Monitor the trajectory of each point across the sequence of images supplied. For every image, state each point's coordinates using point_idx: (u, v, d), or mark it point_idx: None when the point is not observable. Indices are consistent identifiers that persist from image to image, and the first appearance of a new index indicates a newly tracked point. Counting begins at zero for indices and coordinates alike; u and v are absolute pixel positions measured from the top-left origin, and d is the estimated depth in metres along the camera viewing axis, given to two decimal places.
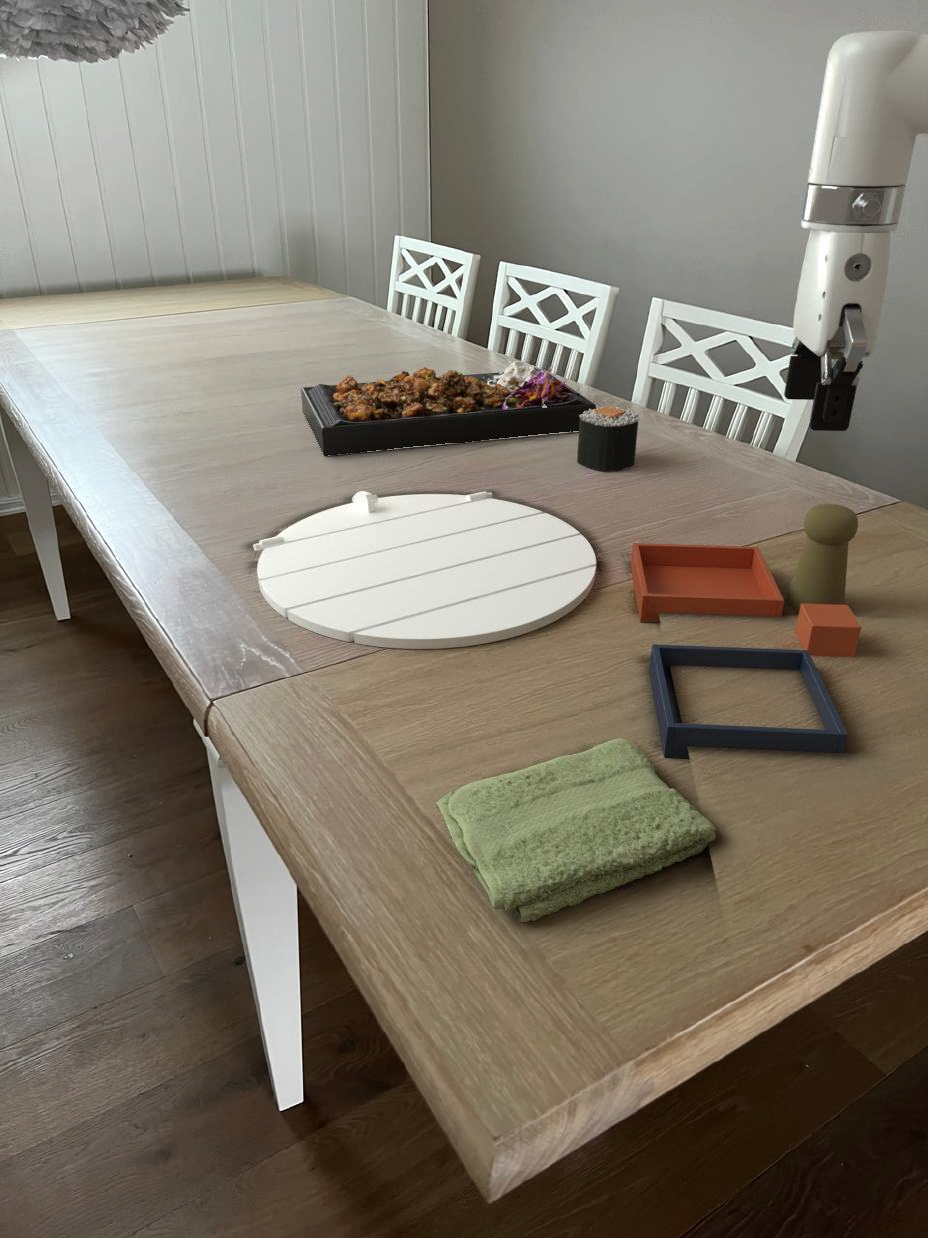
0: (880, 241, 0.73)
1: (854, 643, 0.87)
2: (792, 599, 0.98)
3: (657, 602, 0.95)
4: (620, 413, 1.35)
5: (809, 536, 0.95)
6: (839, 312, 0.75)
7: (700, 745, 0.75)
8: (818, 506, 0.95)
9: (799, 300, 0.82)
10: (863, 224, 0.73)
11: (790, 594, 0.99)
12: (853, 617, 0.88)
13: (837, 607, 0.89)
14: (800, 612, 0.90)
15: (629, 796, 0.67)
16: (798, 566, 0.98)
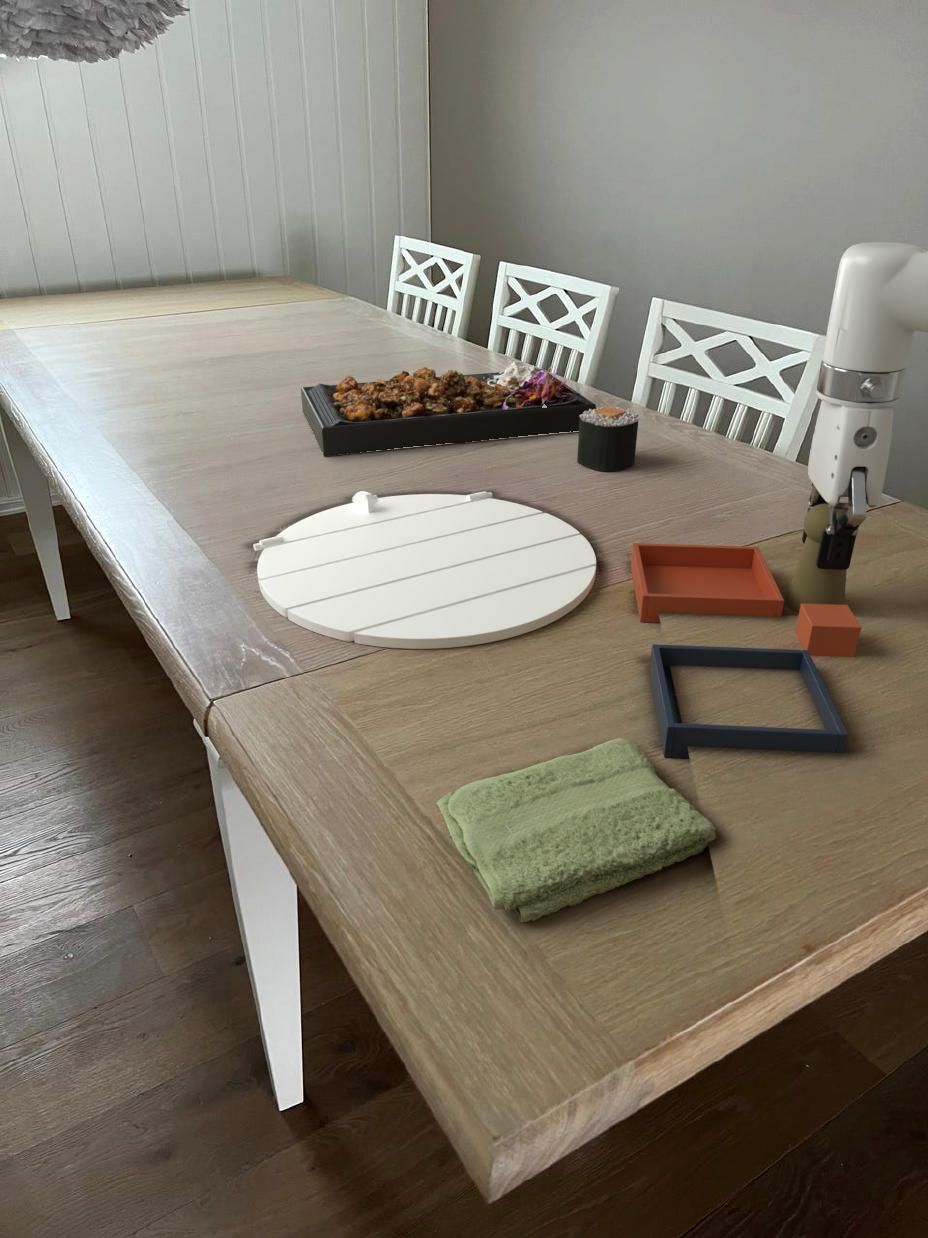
0: (884, 417, 0.85)
1: (854, 643, 0.87)
2: (792, 599, 0.98)
3: (657, 602, 0.95)
4: (620, 413, 1.35)
5: (809, 536, 0.95)
6: (849, 473, 0.87)
7: (700, 745, 0.75)
8: (818, 506, 0.95)
9: (813, 451, 0.94)
10: (870, 401, 0.85)
11: (790, 594, 0.99)
12: (853, 617, 0.88)
13: (837, 607, 0.89)
14: (800, 612, 0.90)
15: (629, 796, 0.67)
16: (798, 566, 0.98)
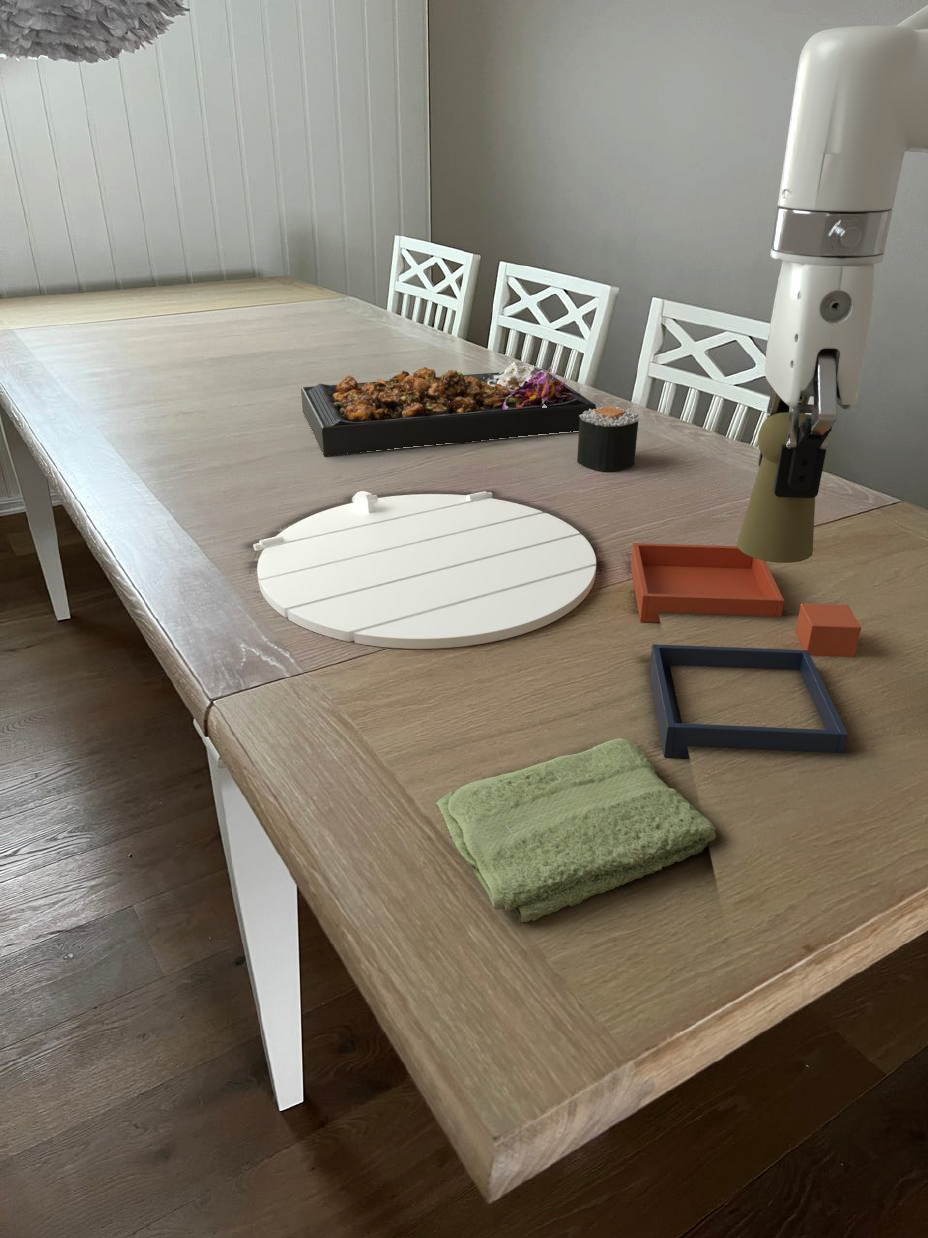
0: (862, 276, 0.61)
1: (854, 643, 0.87)
2: (744, 541, 0.75)
3: (657, 602, 0.95)
4: (620, 413, 1.35)
5: (764, 454, 0.72)
6: (814, 358, 0.64)
7: (700, 745, 0.75)
8: (776, 414, 0.72)
9: (770, 340, 0.71)
10: (842, 256, 0.62)
11: (742, 534, 0.75)
12: (853, 617, 0.88)
13: (837, 607, 0.89)
14: (800, 612, 0.90)
15: (629, 796, 0.67)
16: (751, 497, 0.74)
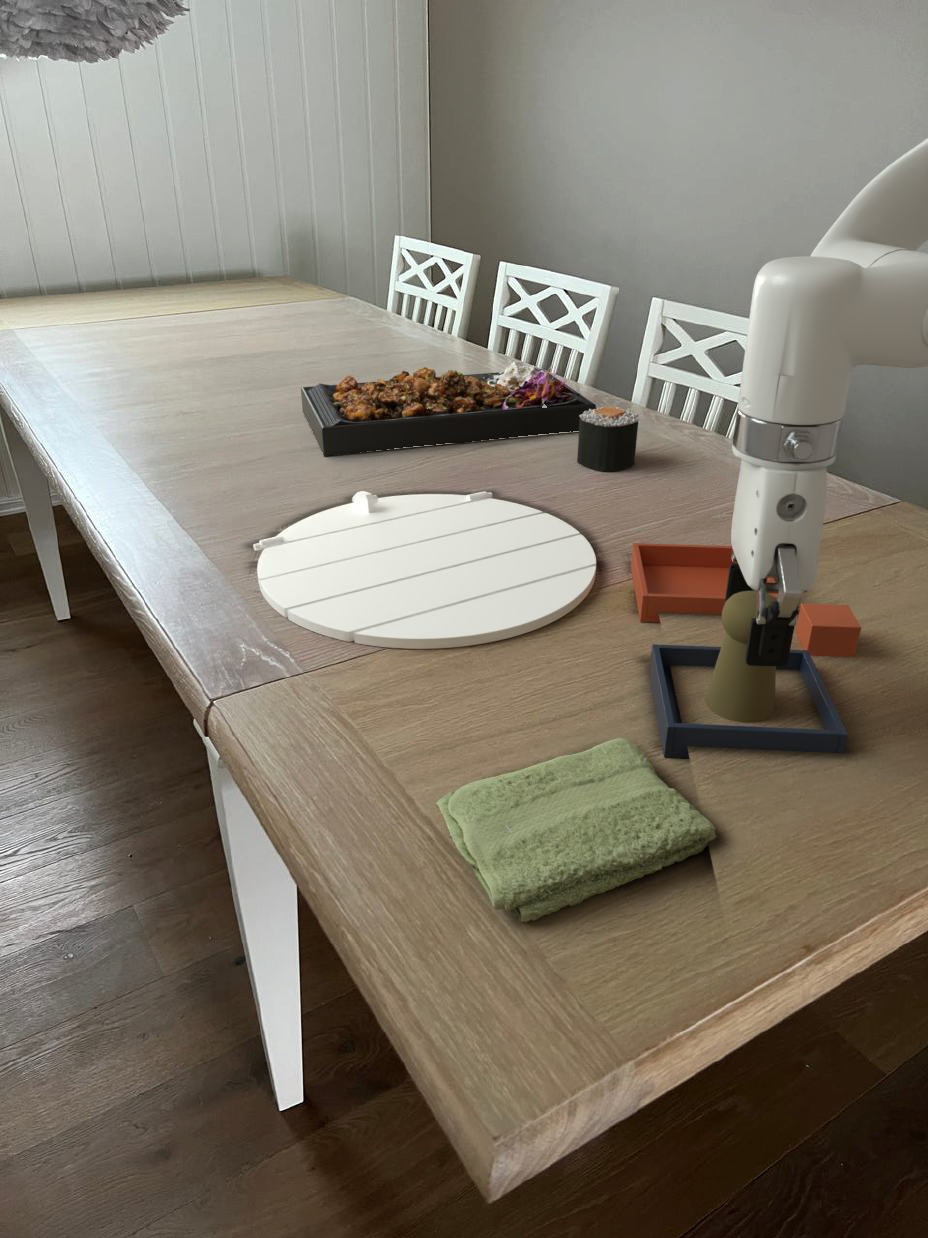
0: (815, 481, 0.66)
1: (854, 643, 0.87)
2: (710, 706, 0.80)
3: (657, 602, 0.95)
4: (620, 413, 1.35)
5: (727, 632, 0.77)
6: (772, 552, 0.68)
7: (700, 745, 0.75)
8: (738, 595, 0.77)
9: (735, 517, 0.75)
10: (796, 461, 0.66)
11: (708, 698, 0.80)
12: (853, 617, 0.88)
13: (837, 607, 0.89)
14: (800, 612, 0.90)
15: (629, 796, 0.67)
16: (716, 666, 0.79)
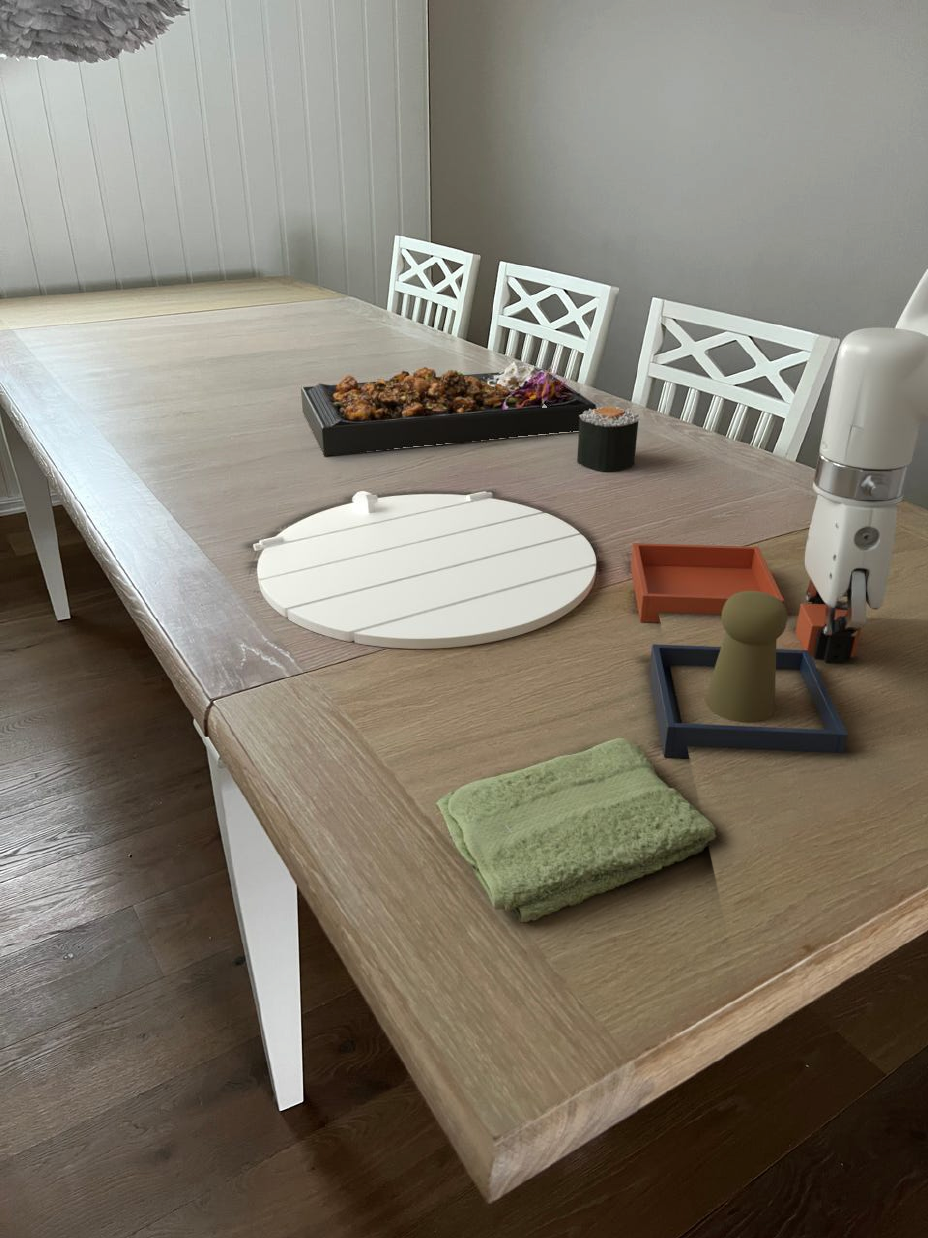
0: (887, 516, 0.78)
1: (854, 643, 0.87)
2: (710, 706, 0.80)
3: (657, 602, 0.95)
4: (620, 413, 1.35)
5: (727, 632, 0.77)
6: (849, 575, 0.80)
7: (700, 745, 0.75)
8: (738, 595, 0.77)
9: (810, 543, 0.87)
10: (871, 499, 0.79)
11: (708, 698, 0.80)
12: None
13: None
14: (800, 612, 0.90)
15: (629, 796, 0.67)
16: (716, 666, 0.79)
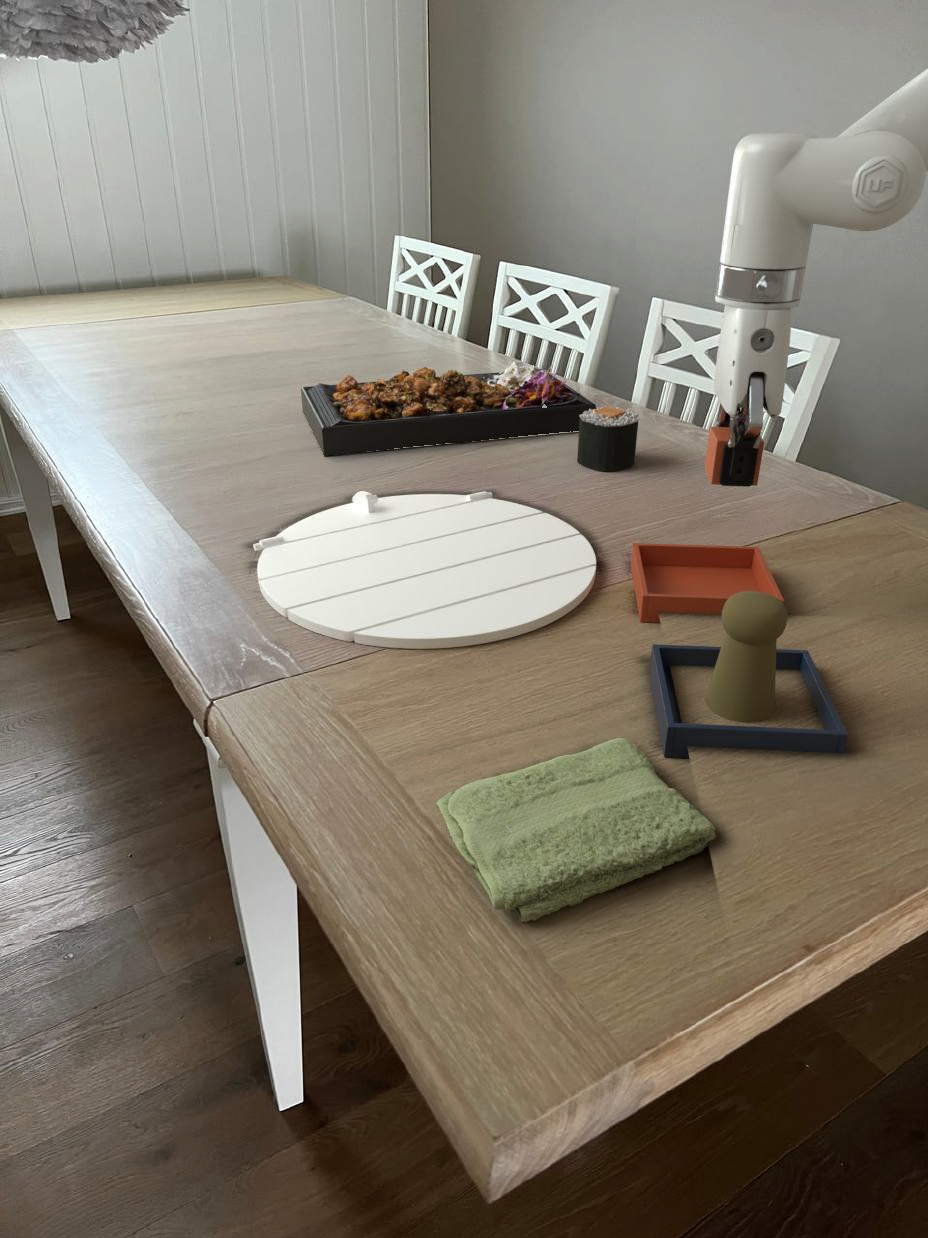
0: (781, 317, 0.81)
1: (758, 458, 0.90)
2: (710, 706, 0.80)
3: (657, 602, 0.95)
4: (620, 413, 1.35)
5: (727, 632, 0.77)
6: (747, 379, 0.83)
7: (700, 745, 0.75)
8: (738, 595, 0.77)
9: (717, 363, 0.90)
10: (767, 302, 0.82)
11: (708, 698, 0.80)
12: None
13: None
14: (709, 435, 0.93)
15: (629, 796, 0.67)
16: (716, 666, 0.79)
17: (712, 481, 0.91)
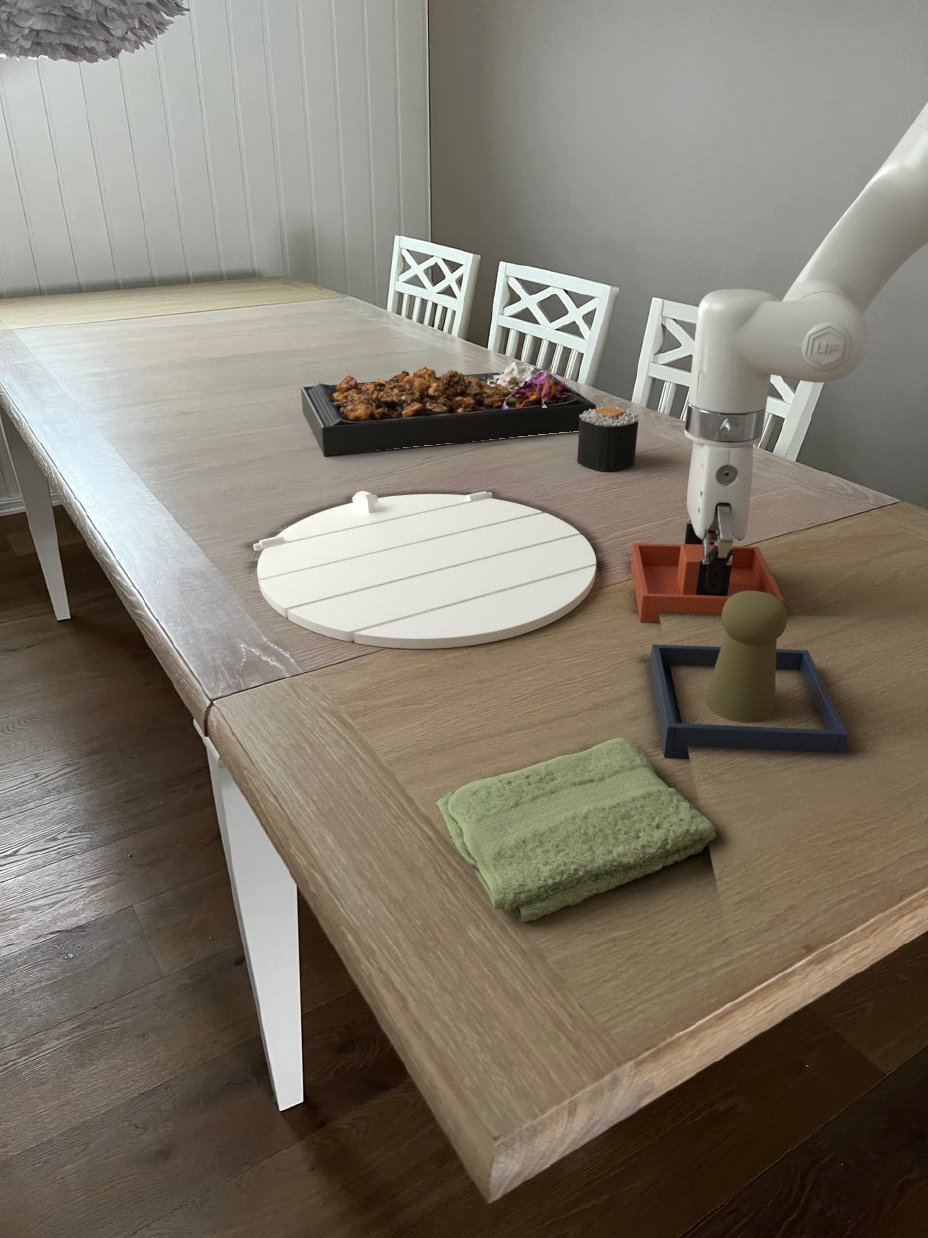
0: (743, 455, 0.89)
1: None
2: (710, 706, 0.80)
3: (657, 602, 0.95)
4: (620, 413, 1.35)
5: (727, 632, 0.77)
6: (713, 509, 0.91)
7: (700, 745, 0.75)
8: (738, 595, 0.77)
9: None
10: (730, 441, 0.89)
11: (708, 698, 0.80)
12: None
13: (712, 547, 1.00)
14: (680, 552, 1.01)
15: (629, 795, 0.67)
16: (716, 666, 0.79)
17: None
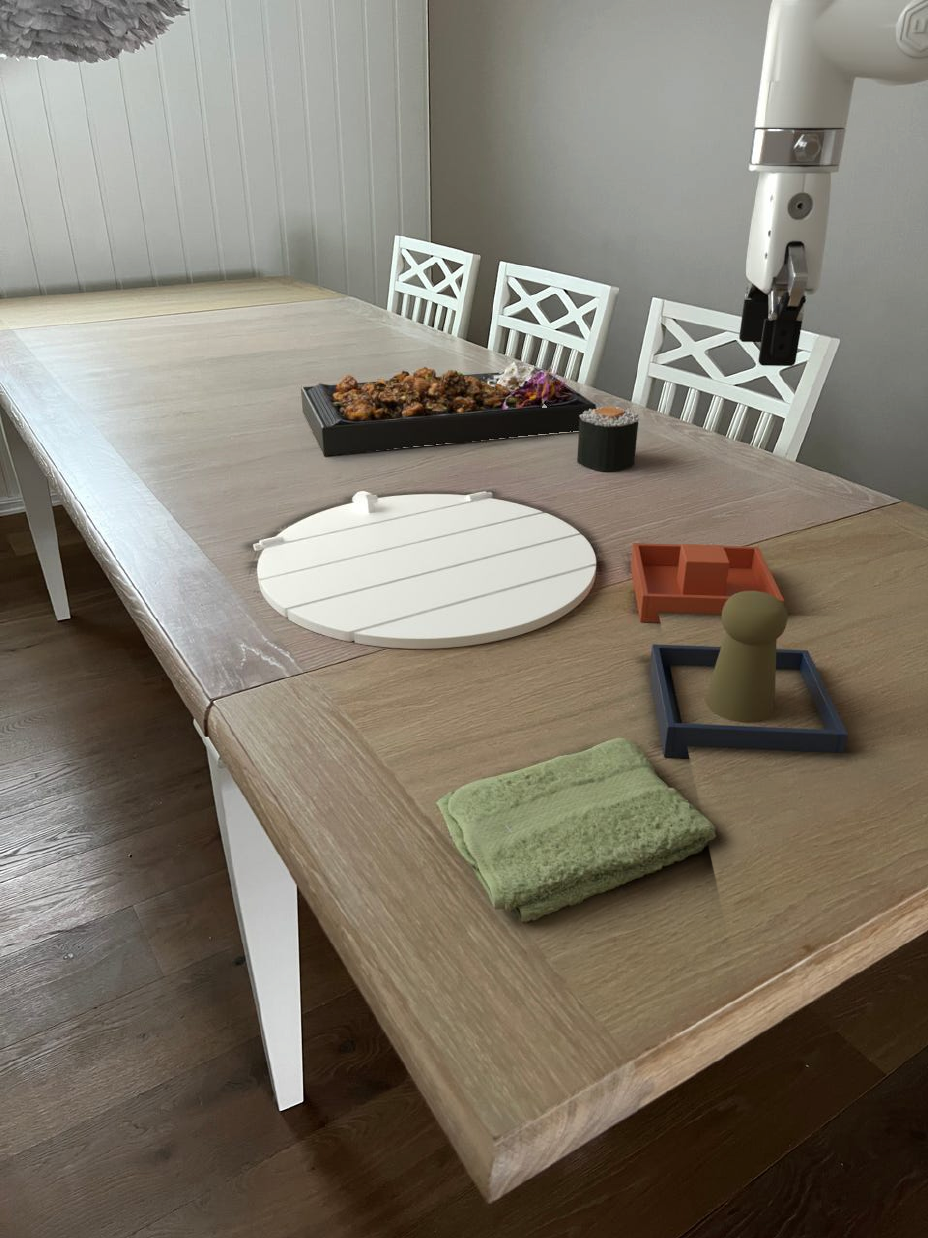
0: (821, 181, 0.77)
1: (724, 577, 0.98)
2: (710, 706, 0.80)
3: (657, 602, 0.95)
4: (620, 413, 1.35)
5: (727, 632, 0.77)
6: (783, 250, 0.79)
7: (700, 745, 0.75)
8: (738, 595, 0.77)
9: (750, 243, 0.86)
10: (805, 165, 0.77)
11: (708, 698, 0.80)
12: (725, 554, 0.98)
13: (712, 547, 1.00)
14: (680, 552, 1.01)
15: (629, 795, 0.67)
16: (716, 666, 0.79)
17: None
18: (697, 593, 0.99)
